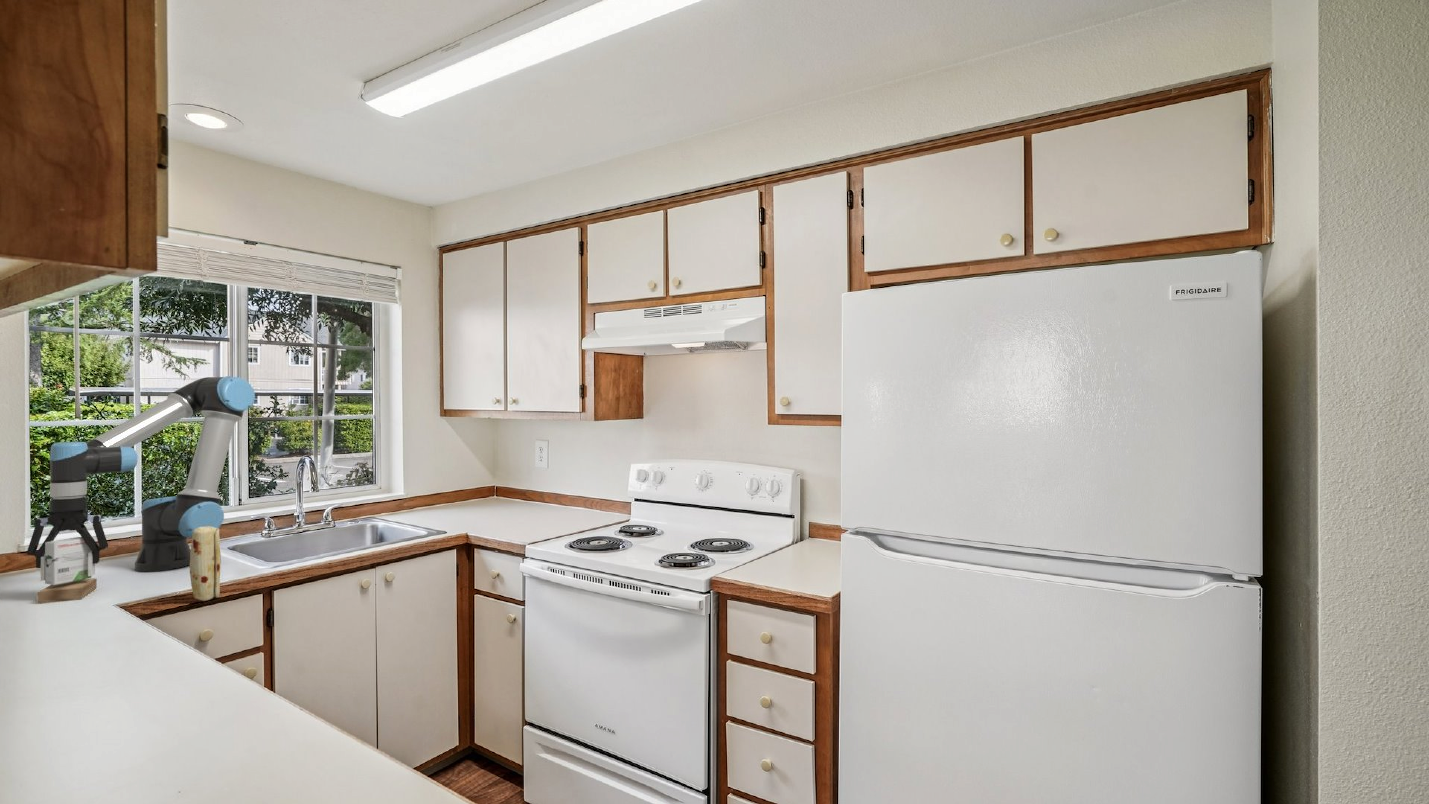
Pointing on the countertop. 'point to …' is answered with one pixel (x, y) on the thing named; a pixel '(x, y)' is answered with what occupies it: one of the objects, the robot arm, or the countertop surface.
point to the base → (67, 591)
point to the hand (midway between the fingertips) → (68, 577)
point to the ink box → (66, 560)
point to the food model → (205, 563)
